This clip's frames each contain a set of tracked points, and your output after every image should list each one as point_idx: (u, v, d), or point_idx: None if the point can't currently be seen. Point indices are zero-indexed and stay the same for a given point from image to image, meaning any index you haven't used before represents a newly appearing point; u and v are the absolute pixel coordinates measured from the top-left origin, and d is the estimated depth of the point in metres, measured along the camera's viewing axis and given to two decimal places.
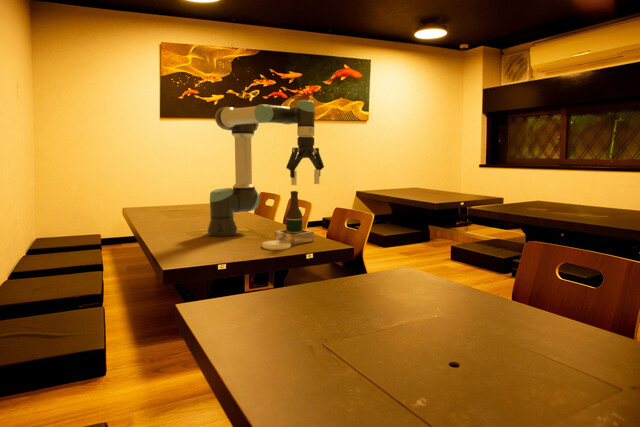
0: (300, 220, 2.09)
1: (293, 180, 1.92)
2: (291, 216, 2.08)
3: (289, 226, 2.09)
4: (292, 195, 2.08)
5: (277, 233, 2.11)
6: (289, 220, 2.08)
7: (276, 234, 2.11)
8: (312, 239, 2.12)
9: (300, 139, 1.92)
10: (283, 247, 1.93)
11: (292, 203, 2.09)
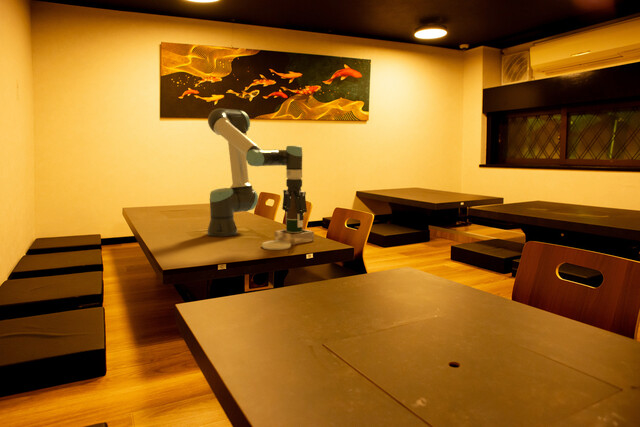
0: None
1: None
2: (291, 216, 2.08)
3: (289, 226, 2.09)
4: (292, 195, 2.08)
5: (277, 233, 2.11)
6: (289, 220, 2.08)
7: (276, 234, 2.11)
8: (312, 239, 2.12)
9: None
10: (283, 247, 1.93)
11: (292, 203, 2.09)
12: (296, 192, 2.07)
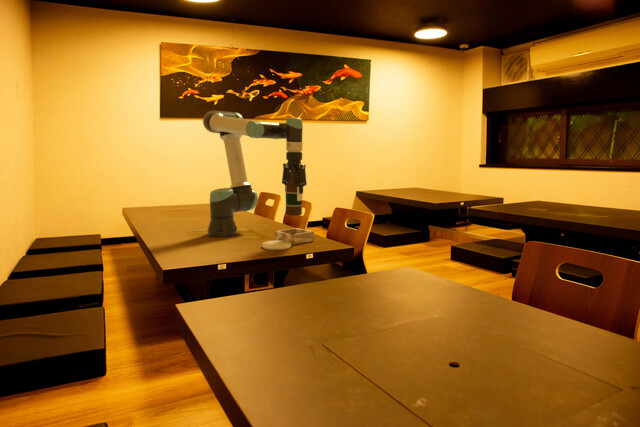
0: None
1: None
2: (290, 189, 2.06)
3: (289, 199, 2.07)
4: (292, 168, 2.06)
5: (277, 233, 2.11)
6: (289, 193, 2.07)
7: (276, 234, 2.11)
8: (312, 239, 2.12)
9: None
10: (283, 247, 1.93)
11: (291, 176, 2.07)
12: (296, 165, 2.05)
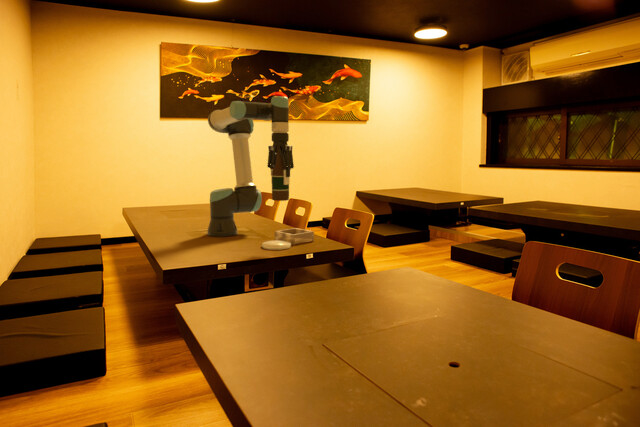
0: None
1: None
2: (276, 172, 1.94)
3: (275, 183, 1.95)
4: (278, 150, 1.94)
5: (277, 233, 2.11)
6: (275, 177, 1.94)
7: (276, 234, 2.11)
8: (312, 239, 2.12)
9: None
10: (283, 247, 1.93)
11: (277, 159, 1.95)
12: (282, 147, 1.92)
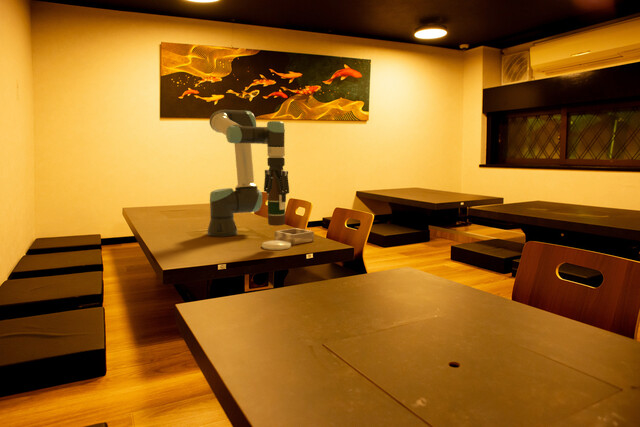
0: None
1: None
2: (272, 197, 1.92)
3: (270, 208, 1.93)
4: (274, 175, 1.93)
5: (277, 233, 2.11)
6: (270, 202, 1.93)
7: (276, 234, 2.11)
8: (312, 239, 2.12)
9: None
10: (283, 247, 1.93)
11: (273, 183, 1.93)
12: (278, 171, 1.91)
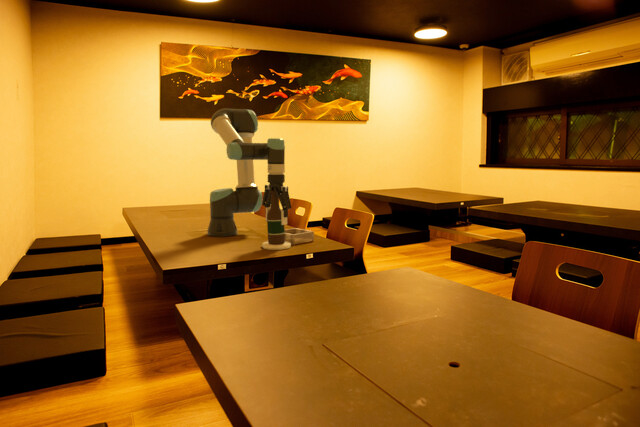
0: None
1: None
2: (271, 217, 1.94)
3: (270, 228, 1.95)
4: (272, 194, 1.94)
5: None
6: (270, 221, 1.94)
7: None
8: (312, 239, 2.12)
9: None
10: (283, 247, 1.93)
11: (272, 203, 1.95)
12: (278, 188, 1.92)
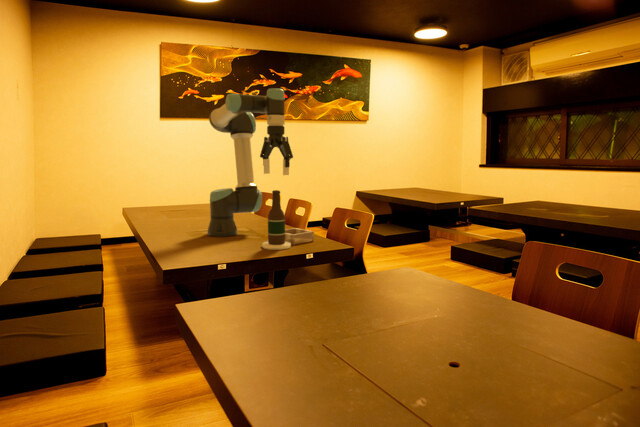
0: (282, 222, 1.95)
1: None
2: (272, 217, 1.94)
3: (270, 228, 1.95)
4: (274, 195, 1.94)
5: None
6: (270, 221, 1.94)
7: None
8: (312, 239, 2.12)
9: None
10: (283, 247, 1.93)
11: (273, 203, 1.95)
12: (278, 140, 1.89)
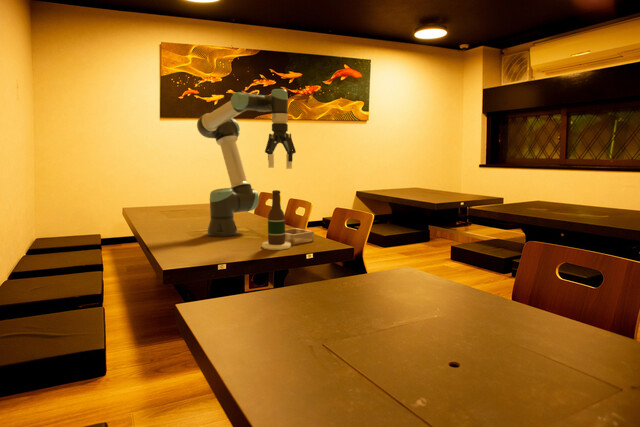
0: (282, 222, 1.95)
1: None
2: (272, 217, 1.94)
3: (270, 228, 1.95)
4: (274, 195, 1.94)
5: None
6: (270, 221, 1.94)
7: None
8: (312, 239, 2.12)
9: None
10: (283, 247, 1.93)
11: (273, 203, 1.95)
12: (281, 136, 2.06)
